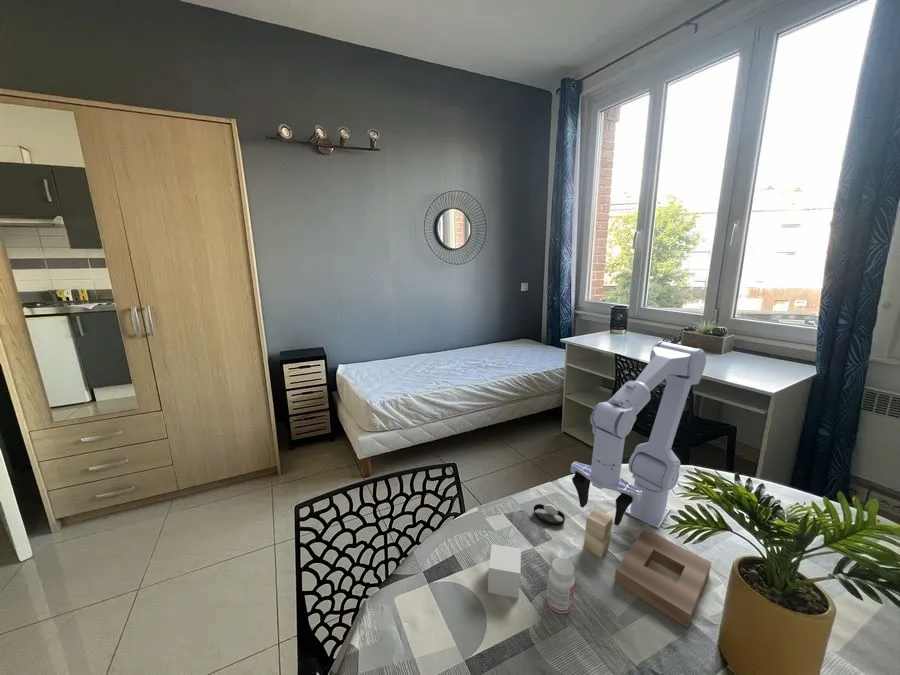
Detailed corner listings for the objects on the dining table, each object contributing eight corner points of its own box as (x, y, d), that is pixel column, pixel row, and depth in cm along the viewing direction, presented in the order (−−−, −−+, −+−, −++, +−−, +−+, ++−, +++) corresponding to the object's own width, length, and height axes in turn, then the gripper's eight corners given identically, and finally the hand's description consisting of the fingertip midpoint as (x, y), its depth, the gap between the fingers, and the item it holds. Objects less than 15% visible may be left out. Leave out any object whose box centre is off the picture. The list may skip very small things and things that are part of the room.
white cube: (490, 567, 78) (491, 543, 77) (519, 572, 77) (521, 548, 76) (487, 593, 72) (488, 567, 71) (518, 598, 71) (520, 573, 70)
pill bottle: (573, 616, 68) (577, 579, 66) (546, 611, 69) (550, 574, 67) (570, 593, 72) (574, 557, 70) (545, 589, 73) (548, 553, 71)
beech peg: (591, 537, 86) (595, 508, 84) (608, 547, 84) (612, 517, 82) (583, 547, 84) (586, 517, 82) (600, 557, 81) (604, 526, 79)
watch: (566, 520, 92) (567, 507, 91) (561, 532, 88) (562, 519, 87) (536, 508, 96) (537, 496, 95) (530, 519, 92) (531, 506, 91)
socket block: (642, 539, 86) (644, 528, 85) (708, 574, 77) (711, 562, 76) (614, 581, 75) (615, 569, 74) (687, 628, 66) (690, 614, 65)
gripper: (565, 451, 80) (560, 505, 84) (636, 481, 70) (627, 541, 74) (581, 440, 85) (575, 491, 88) (648, 466, 75) (640, 523, 78)
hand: (600, 513), depth 81 cm, fingers open, 7 cm apart
